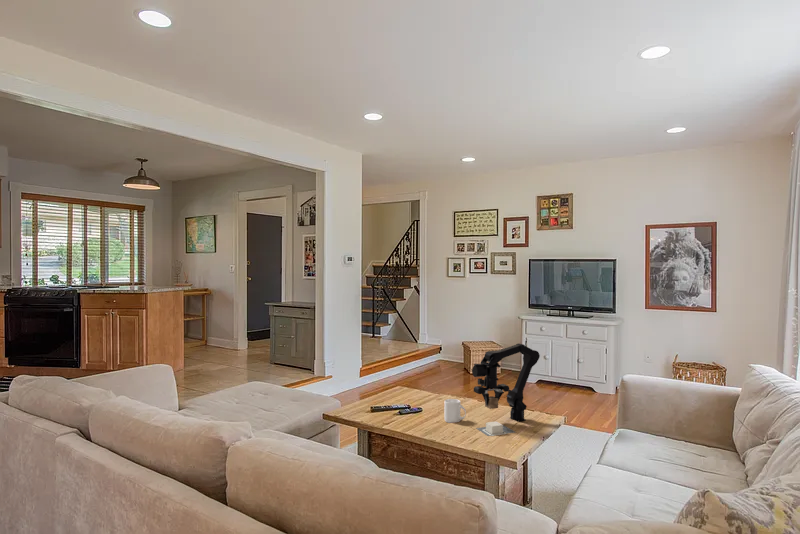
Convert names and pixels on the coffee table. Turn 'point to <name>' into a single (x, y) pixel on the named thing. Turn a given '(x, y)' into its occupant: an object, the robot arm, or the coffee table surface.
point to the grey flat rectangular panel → (505, 431)
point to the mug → (453, 410)
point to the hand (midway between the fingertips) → (491, 405)
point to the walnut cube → (492, 402)
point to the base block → (494, 427)
